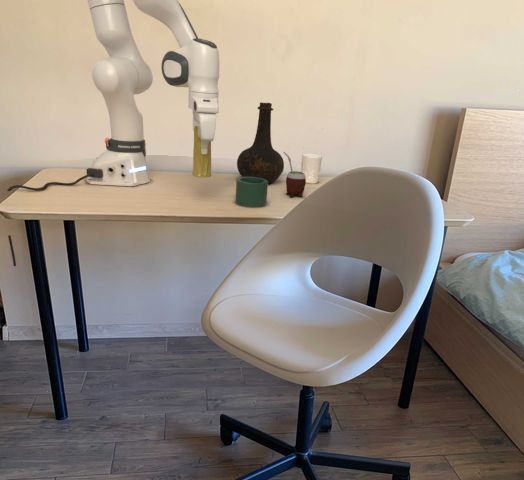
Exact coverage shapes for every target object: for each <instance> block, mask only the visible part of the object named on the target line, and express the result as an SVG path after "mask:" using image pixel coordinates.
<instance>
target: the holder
mask: <svg viewBox="0 0 524 480" xmlns="http://www.w3.org/2000/svg"><path fill="white" fill-rule="evenodd" d="M235 182H236V183H235V204H236V205H238V206H240V207H245V208H262V207H265V206H267V199H268V188H269V187H268V185H269V184H268V181H267V180H266V179H263V178H258V177H242V176H240V177H238V178H236V180H235Z"/></svg>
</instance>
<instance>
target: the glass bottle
mask: <svg viewBox="0 0 524 480" xmlns="http://www.w3.org/2000/svg"><path fill="white" fill-rule="evenodd" d="M272 105H273V103H271V102H259V106H258V107H257V110H259V111H258V120H257V125H256V126H257V127H256V132H255V137H254V139H253V140H254V141H253V142H252V145H251V146H250V147H248V148H245V149H244V150H242V151H241V152H240V154H239V155H238V157H237V160H236V168H237V171H238V173H239V175H240V177H258V178H263V179H266V180H267V181H268V185H269V184H273V183H274V182H275V181H277V180H278V179H279V178H280V176H281V175H282V174H283V172H284V169H285V161H284V158H283V156H282V155H281V154H280V153H279V151H277V150H275V148H274V147H273V145H272V133H271V132H272V129H271V127H272V126H271V125H272V111H274V108H273V106H272Z"/></svg>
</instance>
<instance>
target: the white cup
mask: <svg viewBox="0 0 524 480" xmlns="http://www.w3.org/2000/svg"><path fill="white" fill-rule="evenodd" d="M322 162H323V155H321V154H316V153H303V154H301V171H300V172H302V173H304V174H305V177H306V184H311V185H312V184H317V183H319V177H320V172H321V168H322Z"/></svg>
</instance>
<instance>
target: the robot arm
mask: <svg viewBox="0 0 524 480" xmlns="http://www.w3.org/2000/svg"><path fill="white" fill-rule="evenodd" d="M131 1H132V2H133V4H134V6H136V8H137V9H138V10H139V11H141V13H144V14H145V15H148V16H149V17H151V18H153V19H154V20H157V21H159V22H160V23H162V24H163V25H165V27H167V28H168V29H169V30H170V32H171V33H172V34H173V37H174V38H175V41H176V42H177V44H178V47H179V48H177V49H173V50H169V51H167V52H165V54H164V56H163V58H162V60H161V75H162V77H163V79H164V80H165V82H166V83H167V84H168V85H170V86H172V87H176V88H188V106H187V107H188V109H190V110H192V131H193V132H194V127H195V126H196V127H197V128H198V136H199V138H200V139H201V153H202V154H207V148H208V143H209V141H211V142H214V139H215V136H216V135H215V134H216V125H217V114H219V112H220V111H219V110H220V107H219V96H220V95H219V92H220V91H219V87H218V85H219V79H220V52H219V48H218V46H217V45H216V43H214V41H213V42H212V41H210V40H207V39H203V38H199V36H198V35H197V33H196V31H195V29H194V27H193V25H192V23H191V21H190V19H189V17H188V16H187V13H186V11H185V9H184V8H183V6H182V5H181V3H180V2H179V0H131ZM87 3H88V8H89V13H90V16H91V21H92V24H93V28H94V33H95V36H96V39H97V41H98V42H99V43H100V44H101V45H102V46H103V48H104V49H105V51H106V53H107V54H108V57H106V58H103V59H101V60H99V61H97V62H96V63H95V64H94V66H93V68H92V73H91V76H92V81H93V84H94V86H95V87H96V89H97V90H98V91H99V92H100V94H101V95H102V97H103V100H104V103H105V104H106V108H107V111H108V116H109V124H110V125H109V126H110V135H111V136H110V138H109V137H106V138H104V143H105V148H106V150H104V151H103V152H102V153H101V154H99V156H97V157H96V158H95V159H94V160H93V162H92V165H91V167H87V168H86V170H85V171H86V174H85V175H83V176H81V177H80V178H78V179H76V180H75V181H72V182H59V181H51V182H47V183H45V184H44V185H42V186H41V187H30V186H26V185H22V184H16V185H12V186H10V187H9V188H7V190H6V191H7V192H10V191H12V190H13V189H17V188H19V189H20V188H21V189H25V190H29V191H37V192H38V191H42V190H45V189H47V187H48V186H52V185H58V186H59V185H60V186H73V185H77V184H78V183H79V182H81V181H83V180H85V182H86V183H88V184H90V185H102V186H117V187H118V186H120V187H135V186H138V185H144V184H148V183H150V182H151V178H150V175H149V170H148V166H147V159H146V156H147V144H146V140H145V134H144V117H143V114H142V113H141V112H140V111H139V108H138V105H137V104H136V100H135V95H140V94H142V93H144V92H146V91H148V90H149V89H150V88H151V86H152V85H153V78H154V77H153V71H152V69H151V68H150V66H149V64H148V63H147V62H145V60H144V58H143V56H142V54H141V52H140V50H139V48H138V46H137V43H136V41H135V39H134V36H133V33H132V29H131V25H130V20H129V16H128V13H127V9H126V4H125V0H87ZM7 238H8V242H9V247H10V252H11V258H12V264H13V267H16V266H17V261H16V256H15V251H14V246H13V245H14V244H13V242H12V241H13V240H12V235H7Z"/></svg>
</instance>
